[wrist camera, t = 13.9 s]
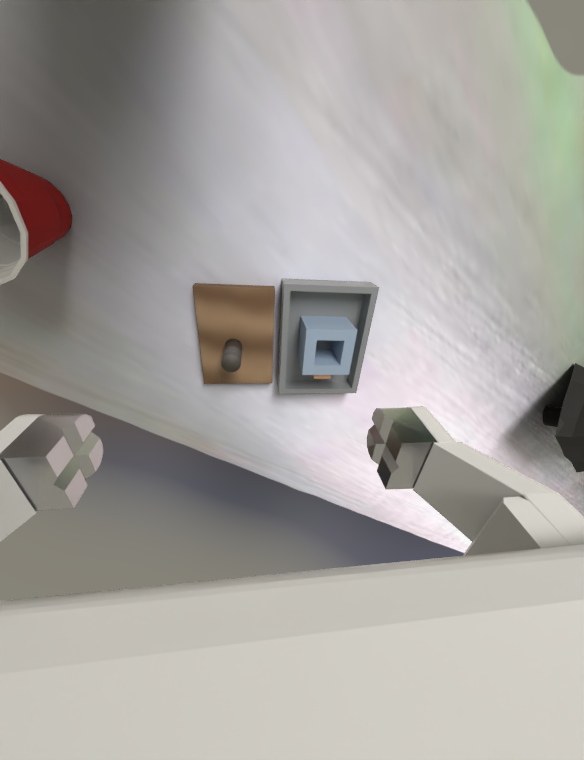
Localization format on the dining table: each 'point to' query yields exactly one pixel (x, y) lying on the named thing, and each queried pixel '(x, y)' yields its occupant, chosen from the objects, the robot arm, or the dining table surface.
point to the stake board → (235, 332)
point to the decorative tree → (570, 420)
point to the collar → (325, 360)
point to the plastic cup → (27, 218)
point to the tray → (329, 302)
